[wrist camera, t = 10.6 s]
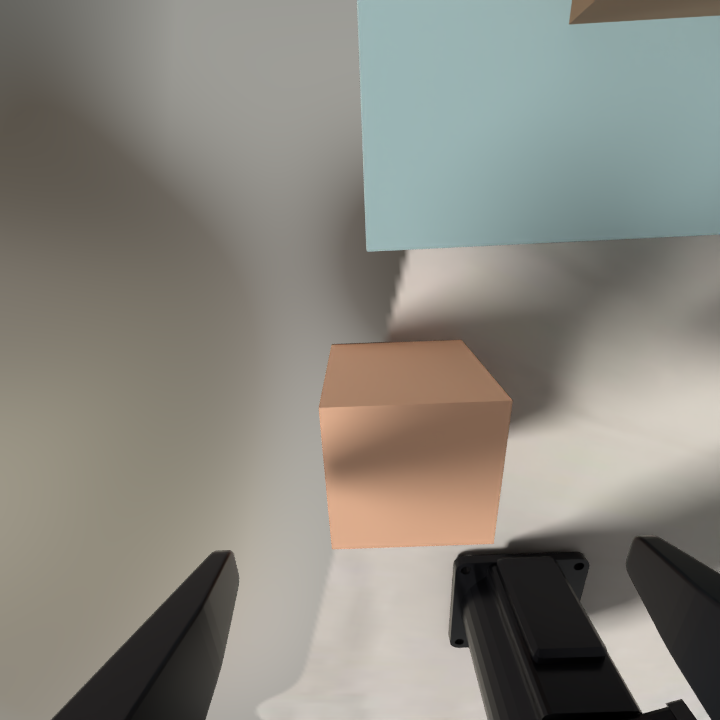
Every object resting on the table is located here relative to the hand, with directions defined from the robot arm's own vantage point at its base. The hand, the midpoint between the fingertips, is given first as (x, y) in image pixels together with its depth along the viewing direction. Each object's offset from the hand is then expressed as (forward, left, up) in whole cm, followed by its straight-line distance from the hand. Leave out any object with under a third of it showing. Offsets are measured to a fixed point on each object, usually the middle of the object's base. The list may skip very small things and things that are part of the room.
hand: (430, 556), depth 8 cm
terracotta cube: (0, 0, -7) cm, 7 cm away
